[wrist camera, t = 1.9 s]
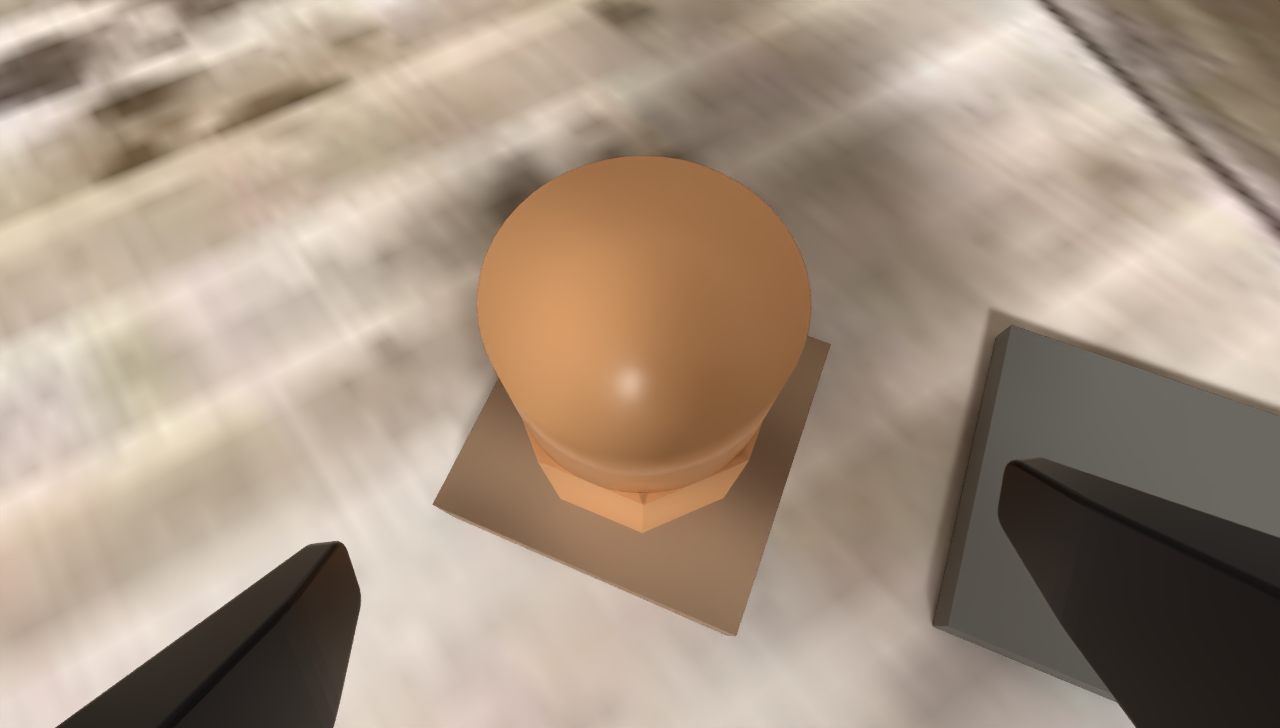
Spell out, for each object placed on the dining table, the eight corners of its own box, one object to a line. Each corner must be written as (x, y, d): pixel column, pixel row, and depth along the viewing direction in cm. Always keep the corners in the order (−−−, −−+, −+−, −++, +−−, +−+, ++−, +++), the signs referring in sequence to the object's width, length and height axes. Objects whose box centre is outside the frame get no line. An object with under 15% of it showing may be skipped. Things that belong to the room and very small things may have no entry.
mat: (1298, 776, 17) (1335, 785, 16) (932, 626, 19) (948, 626, 18) (1305, 443, 21) (1336, 435, 20) (996, 337, 22) (1011, 324, 21)
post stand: (726, 635, 19) (764, 639, 13) (451, 515, 20) (379, 473, 14) (814, 368, 22) (874, 280, 16) (572, 279, 23) (551, 169, 18)
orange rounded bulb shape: (701, 558, 18) (749, 509, 10) (504, 475, 18) (414, 374, 11) (769, 368, 20) (849, 213, 12) (589, 302, 20) (562, 118, 13)
